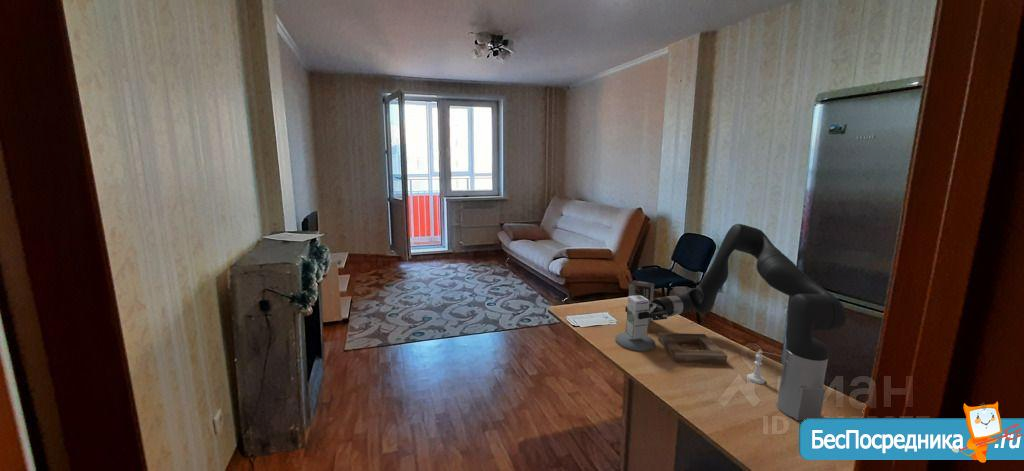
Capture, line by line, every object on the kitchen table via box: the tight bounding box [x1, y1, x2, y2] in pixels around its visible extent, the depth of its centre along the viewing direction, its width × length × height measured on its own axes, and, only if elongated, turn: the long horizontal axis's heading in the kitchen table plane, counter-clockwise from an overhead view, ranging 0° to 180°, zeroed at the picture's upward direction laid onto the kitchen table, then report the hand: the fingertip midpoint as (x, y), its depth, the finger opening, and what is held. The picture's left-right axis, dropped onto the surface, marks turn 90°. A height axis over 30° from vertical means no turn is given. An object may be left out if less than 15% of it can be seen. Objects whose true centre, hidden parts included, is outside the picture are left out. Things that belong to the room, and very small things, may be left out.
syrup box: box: [625, 295, 649, 339], centre depth 150 cm, size 6×6×14 cm
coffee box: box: [628, 280, 655, 325], centre depth 172 cm, size 9×6×16 cm
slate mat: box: [614, 331, 656, 352], centre depth 152 cm, size 14×14×1 cm
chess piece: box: [746, 349, 766, 385], centre depth 127 cm, size 5×5×10 cm
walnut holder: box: [658, 332, 728, 365], centre depth 145 cm, size 17×17×3 cm
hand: (632, 312), depth 149 cm, fingers closed on syrup box, 6 cm apart
